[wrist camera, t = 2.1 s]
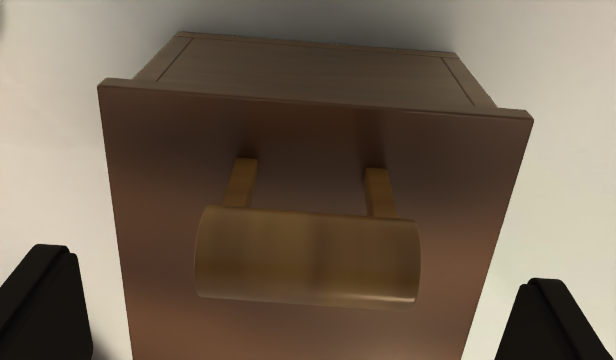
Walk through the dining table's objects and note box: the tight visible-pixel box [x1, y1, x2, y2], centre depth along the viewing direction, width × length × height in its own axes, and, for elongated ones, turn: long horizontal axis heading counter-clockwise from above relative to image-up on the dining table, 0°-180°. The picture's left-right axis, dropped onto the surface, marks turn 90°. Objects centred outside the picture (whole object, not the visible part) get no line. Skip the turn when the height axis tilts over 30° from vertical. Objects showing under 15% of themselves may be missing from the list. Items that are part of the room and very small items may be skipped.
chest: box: [132, 32, 498, 108], centre depth 24 cm, size 15×13×9 cm
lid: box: [97, 78, 534, 360], centre depth 17 cm, size 16×13×6 cm
